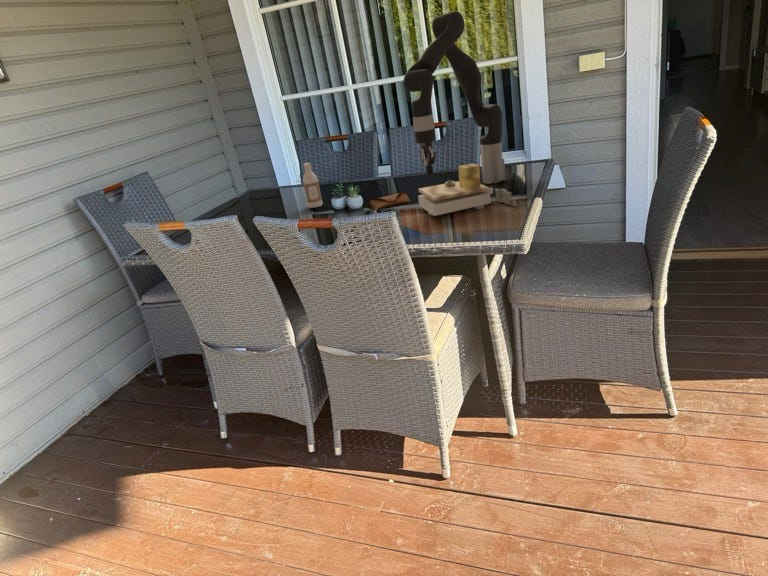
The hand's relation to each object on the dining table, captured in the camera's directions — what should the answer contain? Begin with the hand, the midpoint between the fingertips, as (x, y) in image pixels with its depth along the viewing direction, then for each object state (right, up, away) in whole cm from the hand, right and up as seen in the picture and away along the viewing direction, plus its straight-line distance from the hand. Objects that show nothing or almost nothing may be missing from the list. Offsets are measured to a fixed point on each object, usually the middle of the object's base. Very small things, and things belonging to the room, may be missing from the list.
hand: (430, 175), depth 195 cm
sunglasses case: (-14, -7, +29) cm, 33 cm away
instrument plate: (+10, -5, +5) cm, 12 cm away
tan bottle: (-50, -4, +47) cm, 69 cm away
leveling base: (+10, -12, +8) cm, 17 cm away
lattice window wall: (+30, -11, +3) cm, 32 cm away
